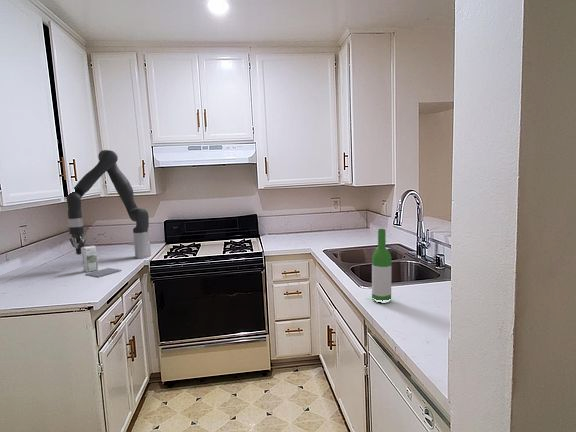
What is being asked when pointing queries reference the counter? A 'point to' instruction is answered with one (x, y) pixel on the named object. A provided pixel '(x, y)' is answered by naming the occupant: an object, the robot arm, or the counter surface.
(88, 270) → the syrup box
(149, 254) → the robot arm
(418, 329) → the counter surface
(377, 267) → the wine bottle
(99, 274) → the mat
